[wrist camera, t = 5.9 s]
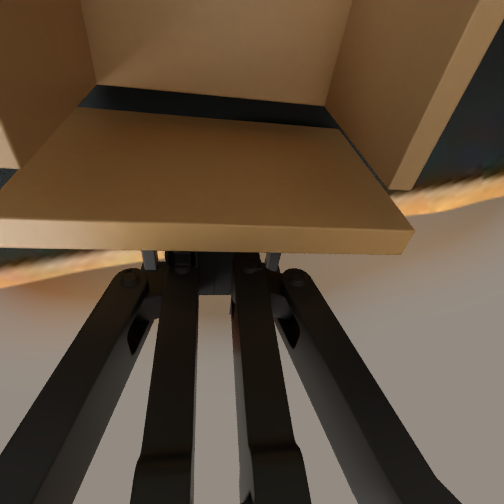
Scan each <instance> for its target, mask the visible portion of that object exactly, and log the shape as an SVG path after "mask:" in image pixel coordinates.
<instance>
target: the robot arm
mask: <svg viewBox="0 0 504 504" xmlns="http://www.w3.org/2000/svg"><path fill="white" fill-rule="evenodd" d="M165 260H166V266H165V267H163V268H162V269H160V270H158V271H155V272H151V273H147V274H146V273H145V272H144V271H143V270H140V269H137V268H130V269H125V270H123V271H121V272H119V273H118V274H117V275H116V276H115V277H114V278H113V280H112V281H111V283H110V284H109V286H108V288H107V289H106V291H105V292H104V294H103V295H102V297H101V299H100V300H99V302H98V303H97V305H96V306H95V308H94V309H93V311H92V313H91V314H90V316H89V318H88V319H87V320H86V322H85V323H84V325H83V327H82V328H81V330H80V331H79V333H78V335H77V336H76V338H75V339H74V341H73V342H72V344H71V345H70V347H69V348H68V350H67V352H66V353H65V355H64V356H63V358H62V359H61V361H60V363H59V364H58V366H57V367H56V369H55V370H54V372H53V373H52V375H51V377H50V378H49V380H48V381H47V383H46V384H45V386H44V387H43V389H42V391H41V392H40V394H39V395H38V397H37V398H36V400H35V402H34V403H33V405H32V406H31V408H30V409H29V411H28V413H27V414H26V416H25V417H24V419H23V420H22V422H21V423H20V425H19V427H18V428H17V430H16V431H15V433H14V434H13V436H12V437H11V439H10V441H9V442H8V444H7V445H6V447H5V449H4V450H3V452H2V453H1V455H0V504H72V503H73V501H74V499H75V496H76V494H77V492H78V490H79V488H80V485H81V483H82V481H83V479H84V476H85V474H86V472H87V470H88V467H89V465H90V463H91V461H92V458H93V456H94V454H95V452H96V449H97V447H98V445H99V443H100V440H101V438H102V436H103V434H104V432H105V429H106V427H107V425H108V423H109V420H110V418H111V416H112V414H113V411H114V409H115V407H116V405H117V402H118V400H119V398H120V396H121V393H122V391H123V389H124V387H125V384H126V382H127V380H128V378H129V375H130V373H131V371H132V369H133V367H134V364H135V362H136V360H137V358H138V355H139V353H140V351H141V348H142V346H143V344H144V342H145V340H146V337H147V335H148V333H149V331H150V328H151V326H152V324H153V322H154V319H157V318H159V324H158V331H157V339H156V346H155V354H154V361H153V368H152V376H151V384H150V390H149V398H148V405H147V413H146V420H145V427H144V435H143V442H142V449H141V454H140V457H139V459H138V461H137V464H136V468H135V473H134V479H133V486H132V493H131V500H130V504H193V501H194V451H195V416H196V414H195V413H196V380H197V379H196V377H197V343H198V306H199V305H198V304H199V301H198V298H199V295H231V305H230V314H231V319H232V320H231V321H232V338H233V355H234V374H235V391H236V409H237V427H238V445H239V463H240V479H239V480H240V481H239V483H240V484H239V488H240V489H239V490H240V504H311V499H310V493H309V488H308V482H307V477H306V471H305V466H304V461H303V457H302V453H301V451H300V448H299V447H298V445H297V444H296V442H295V439H294V435H293V429H292V424H291V417H290V412H289V406H288V401H287V394H286V389H285V383H284V377H283V371H282V366H281V360H280V354H279V349H278V342H277V336H276V331H275V325H274V322H275V324H276V326H277V329H278V331H279V333H280V335H281V337H282V339H283V342H284V344H285V346H286V348H287V350H288V352H289V355H290V357H291V359H292V361H293V363H294V366H295V368H296V370H297V372H298V374H299V377H300V379H301V381H302V383H303V385H304V387H305V389H306V392H307V394H308V396H309V398H310V401H311V403H312V405H313V407H314V409H315V411H316V413H317V416H318V418H319V420H320V422H321V425H322V427H323V429H324V431H325V433H326V436H327V438H328V440H329V442H330V444H331V446H332V449H333V451H334V453H335V455H336V457H337V459H338V462H339V464H340V466H341V468H342V470H343V473H344V475H345V477H346V479H347V481H348V484H349V486H350V488H351V490H352V492H353V494H354V496H355V498H356V500H357V502H358V504H462V503H461V502H460V501H459V500H458V499H457V498H456V497H455V496H454V495H453V494H452V493H451V492H450V491H449V490H448V489H447V488H446V487H445V486H444V485H443V484H442V483H441V482H440V481H439V480H438V479H437V478H436V476H435V475H434V473H433V472H432V470H431V469H430V467H429V465H428V464H427V462H426V461H425V459H424V457H423V456H422V454H421V453H420V451H419V449H418V448H417V446H416V445H415V443H414V441H413V440H412V438H411V437H410V435H409V433H408V432H407V430H406V429H405V427H404V425H403V424H402V422H401V421H400V419H399V417H398V416H397V415H396V413H395V411H394V409H393V408H392V406H391V405H390V403H389V401H388V400H387V398H386V397H385V395H384V393H383V392H382V390H381V389H380V387H379V385H378V384H377V382H376V381H375V379H374V378H373V376H372V374H371V373H370V371H369V370H368V368H367V366H366V365H365V363H364V362H363V360H362V358H361V357H360V355H359V354H358V352H357V351H356V349H355V347H354V346H353V344H352V343H351V341H350V339H349V338H348V336H347V334H346V333H345V331H344V330H343V328H342V326H341V325H340V323H339V322H338V320H337V318H336V317H335V315H334V314H333V312H332V310H331V309H330V307H329V306H328V304H327V303H326V301H325V299H324V298H323V296H322V295H321V293H320V291H319V290H318V288H317V287H316V285H315V283H314V282H313V280H312V279H311V277H310V276H309V275H308V274H307V273H306V272H304V271H303V270H300V269H296V268H295V269H294V268H293V269H288V270H286V271H285V272H284V273H283V274H282V273H278V272H274V271H272V270H269V269H268V268H266V267H265V266H264V265H263V263H262V262H261V260H260V255H259V252H207V251H165Z"/></svg>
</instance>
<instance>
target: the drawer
mask: <svg viewBox="0 0 504 504" xmlns="http://www.w3.org/2000/svg"><path fill="white" fill-rule="evenodd" d="M503 19H504V0H0V168H10V169H19V170H18V171H17V172H16V173H15V174H14V175H13V176H12V177H11V178H10V180H9V181H8V182H7V183H6V184H5V185H4V186H3V187H2V188H1V190H0V248H46V249H100V250H141V251H142V257H143V264H142V267H141V270H143V271H144V272H145V273H146V274H147V273H151V272H155V271H158V270H160V269H162V268H163V267H165V266H166V262H158V255H157V251H207V252H261V253H263V252H264V253H267V254H266V258H265V263H263V265H264V266H265V267H266V268H268V269H269V270H272V271H274V272H278V273H280V269H279V266H278V263H279V260H280V256H281V253H314V254H315V253H316V254H368V255H372V254H373V255H401V253H402V252H403V250H404V249H405V247H406V246H407V244H408V242H409V240H410V239H411V237H412V236H413V234H414V233H415V230H414V229H413V227H412V226H411V225H410V223H409V222H408V221H407V219H406V218H405V217H404V215H403V214H402V213H401V211H400V210H399V209H398V207H397V206H396V205H395V203H394V202H393V201H392V199H391V198H390V197H389V195H388V194H387V193H386V191H385V190H384V189H383V187H382V186H381V185H380V183H379V182H378V181H377V180H376V178H375V177H374V176H373V174H372V173H371V172H370V170H369V169H368V168H367V166H366V165H365V164H364V162H363V161H362V160H361V158H360V157H359V156H358V154H357V153H356V152H355V150H354V149H353V148H352V146H351V145H350V144H349V142H348V141H347V140H346V138H345V137H344V136H343V134H342V133H341V132H340V130H339V129H331V128H320V127H308V126H296V125H284V124H273V123H261V122H249V121H237V120H225V119H214V118H202V117H190V116H178V115H166V114H155V113H143V112H131V111H119V110H107V109H96V108H84V107H77V106H78V105H79V104H80V103H81V102H82V100H83V99H84V98H85V97H86V96H87V95H88V94H89V93H90V91H91V90H92V89H93V88H94V87H95V86H96V84H98V85H109V86H119V87H129V88H140V89H150V90H161V91H171V92H181V93H192V94H202V95H213V96H223V97H233V98H244V99H254V100H265V101H275V102H285V103H296V104H306V105H317V106H325V108H326V109H327V111H328V112H329V113H330V115H331V116H332V117H333V118H334V120H335V121H336V122H337V124H338V125H339V126H340V127H341V129H342V130H343V131H344V133H345V134H346V135H347V136H348V138H349V139H350V140H351V142H352V143H353V144H354V146H355V147H356V148H357V149H358V151H359V152H360V153H361V155H362V156H363V157H364V158H365V160H366V161H367V162H368V164H369V165H370V166H371V168H372V169H373V170H374V171H375V173H376V174H377V175H378V177H379V178H380V179H381V180H382V182H383V183H384V184H385V186H386V187H387V188H388V189H392V190H411V189H412V187H413V185H414V184H415V182H416V180H417V178H418V176H419V174H420V172H421V171H422V169H423V167H424V165H425V163H426V161H427V160H428V158H429V156H430V154H431V152H432V150H433V149H434V147H435V145H436V143H437V141H438V139H439V137H440V136H441V134H442V132H443V130H444V128H445V126H446V125H447V123H448V121H449V119H450V117H451V115H452V113H453V112H454V110H455V108H456V106H457V104H458V102H459V101H460V99H461V97H462V95H463V93H464V91H465V90H466V88H467V86H468V84H469V82H470V80H471V78H472V77H473V75H474V73H475V71H476V69H477V67H478V66H479V64H480V62H481V60H482V58H483V56H484V55H485V53H486V51H487V49H488V47H489V45H490V43H491V42H492V40H493V38H494V36H495V34H496V32H497V31H498V29H499V27H500V25H501V23H502V21H503Z"/></svg>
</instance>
